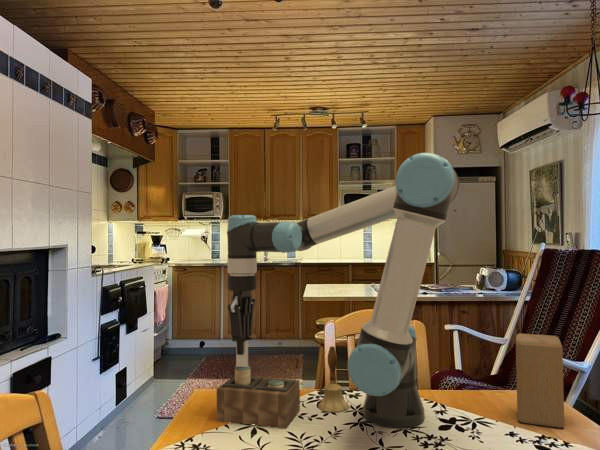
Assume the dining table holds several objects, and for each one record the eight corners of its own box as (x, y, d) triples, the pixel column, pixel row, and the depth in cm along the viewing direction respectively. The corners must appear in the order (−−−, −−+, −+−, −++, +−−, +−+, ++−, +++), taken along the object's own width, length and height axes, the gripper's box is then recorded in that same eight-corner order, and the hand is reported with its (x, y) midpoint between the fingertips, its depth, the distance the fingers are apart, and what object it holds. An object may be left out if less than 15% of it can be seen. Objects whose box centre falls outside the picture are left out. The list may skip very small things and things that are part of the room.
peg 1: (253, 397, 122) (252, 365, 123) (247, 403, 118) (247, 369, 119) (238, 396, 123) (238, 364, 124) (232, 401, 120) (232, 368, 120)
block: (561, 415, 118) (559, 335, 119) (564, 430, 109) (562, 343, 110) (517, 409, 122) (515, 332, 123) (517, 423, 113) (515, 340, 114)
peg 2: (286, 413, 120) (285, 380, 120) (281, 419, 116) (281, 385, 116) (271, 411, 121) (271, 379, 121) (266, 417, 117) (265, 383, 117)
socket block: (299, 410, 123) (299, 378, 123) (286, 428, 111) (285, 393, 112) (236, 404, 128) (235, 373, 128) (216, 421, 116) (216, 387, 116)
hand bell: (313, 410, 123) (313, 349, 124) (324, 400, 131) (323, 342, 131) (343, 414, 120) (343, 351, 121) (352, 403, 128) (352, 344, 128)
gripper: (238, 272, 129) (238, 358, 128) (217, 276, 117) (217, 372, 116) (264, 273, 127) (264, 360, 126) (246, 277, 115) (246, 374, 114)
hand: (242, 366), depth 121 cm, fingers closed
